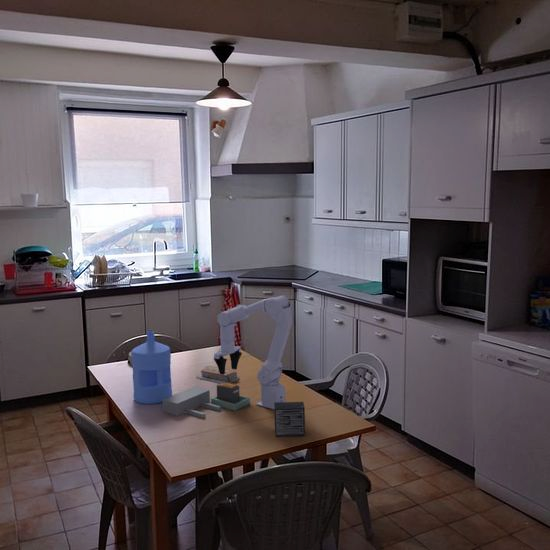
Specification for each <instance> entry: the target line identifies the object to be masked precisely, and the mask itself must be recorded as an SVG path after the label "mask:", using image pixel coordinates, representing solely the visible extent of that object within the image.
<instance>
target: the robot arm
mask: <svg viewBox="0 0 550 550" xmlns="http://www.w3.org/2000/svg"><path fill="white" fill-rule="evenodd" d="M292 306H293V303H292V302H291V301H290V299H289V298H288V297H287V296H286V295H283V294H282V295H279V296H273V297H269V298H264V299H261V300H259V301H256V302H254V303H252V304H249V305H245V304H236V306H235V307H233V308H227V310H225V311H220V313H218V315H217V317H216V318H217V319H216V321H217V322H218V324H219V325H220V326H219V327H220V330H219V331H220V333H219V335H220V348H219V350H218V351H216V352H215V353H214V354H213V355H214V357H213V361H214V362H215V363H216V367H218V369H219V372H220V374H223V375H224V374H225V369H226V364H227V360H228V358H225V356H228V355H229V358H230V365H231V366H230V367H231V369H232V370H233V371H237V370H238V364H239V361H240V359H241V356H242V354H243V353H242V347H241V345H240V346H239V345H236V346H235V341H236V340H235V327H236V323H237V322H240V321H243V320H245V319H248V318H249V317H250V314H252V313H256V312H259V311H261V310H262V311H263V312H264V313H265V312H266V313H267V314H268V315H269V316H270V317H271V318H272V319H273V320H274V322H275V323H276V327H275V331H274V334H273V338H272V341H271V345H270V347H269V351H268V354H267V357H266V360H265V362H263V363H262V365H261V368H260V369H259V371H258V372H257V374H256V378H257V381H258V382H259V383H260V401H259V402H256V405H257V406H259V407H260V406H261V407H264V408H266V409H267V408H268V409H271V410H274V403H276V402H286V387H285V386H284V385H282V384H281V383H280V378H281V377H282V375H283V370H282V368H283V363H282V362H281V360H282V358H283V354H284V351H285V348H286V344H287V341H288V337H289V334H290V331H291V329H292V325H293V316H292Z"/></svg>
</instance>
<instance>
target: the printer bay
mask: <svg viewBox="0 0 550 550" xmlns="http://www.w3.org/2000/svg"><path fill="white" fill-rule="evenodd" d="M210 394H211V393H210V389H206V388H203V387H199V386H193V387H190V388H187V389H185V390H182V391H179V392H177V393H175V394H172V396H170V397H167V398H164V399H163V402H162V412H163V411H164V412H163V413H166V412H167V413H166V414H169V413H170V415H172V414H173V416H176V417H178V416H181V415H183V414H189V415H191V416H194V417H198V418H202V419H205V418H206V416H207V415H206V412H205V413H204V412H202V411H199V410H196V408H199V407H203V408H207V409H211V410H213V411H218V412H220V411H221V410H222V407H221V406H217V405H214V404H211V398H210V397H211V395H210Z"/></svg>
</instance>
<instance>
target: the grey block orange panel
mask: <svg viewBox="0 0 550 550" xmlns="http://www.w3.org/2000/svg"><path fill="white" fill-rule="evenodd" d="M239 395H240V385H238V384H234V383H230V384H229V383H225V382H223V383H218V384H217V385H216V396H217V399H219V400H223V401H226V402H230V403H234V404H236V403H238V402H240V397H239Z"/></svg>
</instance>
